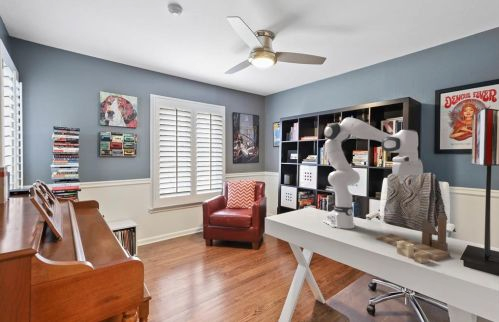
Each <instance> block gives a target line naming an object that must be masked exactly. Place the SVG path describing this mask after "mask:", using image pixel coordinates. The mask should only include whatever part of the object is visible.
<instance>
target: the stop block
mask: <svg viewBox="0 0 499 322" xmlns="http://www.w3.org/2000/svg"><path fill="white" fill-rule="evenodd" d="M413 259H414V260H413V261H414V262H416V263H418V264H420V265H421V264H425V263H430V259H429V253H428V252H425V251H419V252H415V253H414V257H413Z"/></svg>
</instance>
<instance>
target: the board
mask: <svg viewBox="0 0 499 322" xmlns="http://www.w3.org/2000/svg"><path fill="white" fill-rule="evenodd" d="M376 240H378V241H380V242H383V243H385V244H388V245H392V246H394V247H396V248H397V241H405V242H408V243H411V244H414V253H415V252H419V251H425V252H428V253H429V260H431V261H434V262H436V261H440V260H444V259H448V258H451V254H452V253H450V252H447V251H442V250H439V249H436V248H433V247H431V246H427V245H424V244H422V242H418V241H415V240H412V239H409V238H406V237H402V236H399V235H396V234H394V233H386V234H382V235H376Z"/></svg>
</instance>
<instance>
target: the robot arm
mask: <svg viewBox="0 0 499 322" xmlns="http://www.w3.org/2000/svg"><path fill="white" fill-rule="evenodd" d="M323 136H324V137H325V138H326V140H325V143H324V149H325V153H326V156H327V159H328V161H329V164H330V167H333V168H334V171H332V172H330V173H329V174H328V176H327V181H328V184H329V185H330V186H332V189H333V191H334V195H335V197H334V198H335V199H334V200H335V204H334V205H332V208H333V210H331V211H329V212H328V213H327V215H326V218H325V219H324V220H323V221H322V222H323V223H324V222H325V223H324V224H326V223H327V225H328V224H329V225H328V226H330V227H332V228H335V227H336V228H337V229H338V228H339V229H354V228H355V222H354V221H355V220H354V214H353V212H354V206H353V194H352V193H351V192H350V191H349V186H353V185H356V184H358V183H359V181H360V178H361V177H360V174H359V172H358V171H356V170H354V168H353V167H352V166H351V165H350V163H349V162H348V161H347V159H346V156H345V153H344V151H343V148H342V146H341V144H344V143H345V142H346V141H348V140H349V139H350V138H351V136H352V137H354V138H358V139H360V140H372V141H377V142H380V143H381V144H380V145H381V148H382V150H383V151H384V152H387V153H394V154H396V153H398V155H396V156H394V157H393V158H392V162H393V163H392V167H391V169H392V175H393V176H396V177H397V178H398V181H399V184H401V185H402V184H405V180H404V179H403V178H404V176H412V179H411V181H410V182H411V183H412V184H416V183H417V179H418V178H419V175H420V176H421V175H423V173H424V166H423V162H422V160H421V159H420V158H419V150H418V147H419V135H418V132H417V130H414V129H408V128H406V129H405V128H403V129H401V130H399V131H398V132H396V133H394V134H389V133H388V132H385V131H382V130H380V129H378V128H376V127H374V126H372V125H370V124H369V123H367V122H365V121H364V120H361V119H358V118H354V117H350V116H348V117H345V118H344V119H343V120H342V121H341V122H340V124H338V123H333V124H332V123H331V124H328V125H326V126H325V128H324V129H323Z"/></svg>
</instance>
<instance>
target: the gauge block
mask: <svg viewBox="0 0 499 322" xmlns="http://www.w3.org/2000/svg"><path fill="white" fill-rule="evenodd" d="M396 254H398V255H401V256H403V257H405V258H407V259H409V258H414V244H411V243H408V242H405V241H397V247H396Z"/></svg>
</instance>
